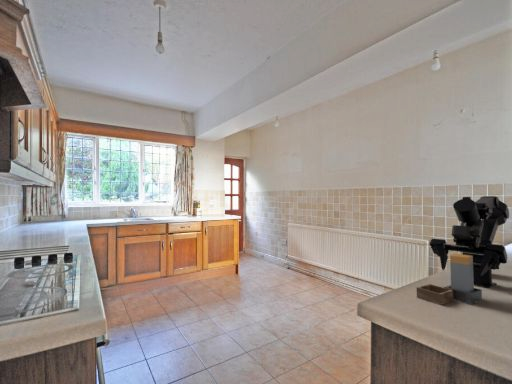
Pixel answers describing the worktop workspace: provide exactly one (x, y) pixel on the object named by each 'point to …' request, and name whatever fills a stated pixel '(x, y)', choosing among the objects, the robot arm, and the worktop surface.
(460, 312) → the worktop surface
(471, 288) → the plug
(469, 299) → the socket
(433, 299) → the square frame
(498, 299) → the worktop surface
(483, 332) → the worktop surface
